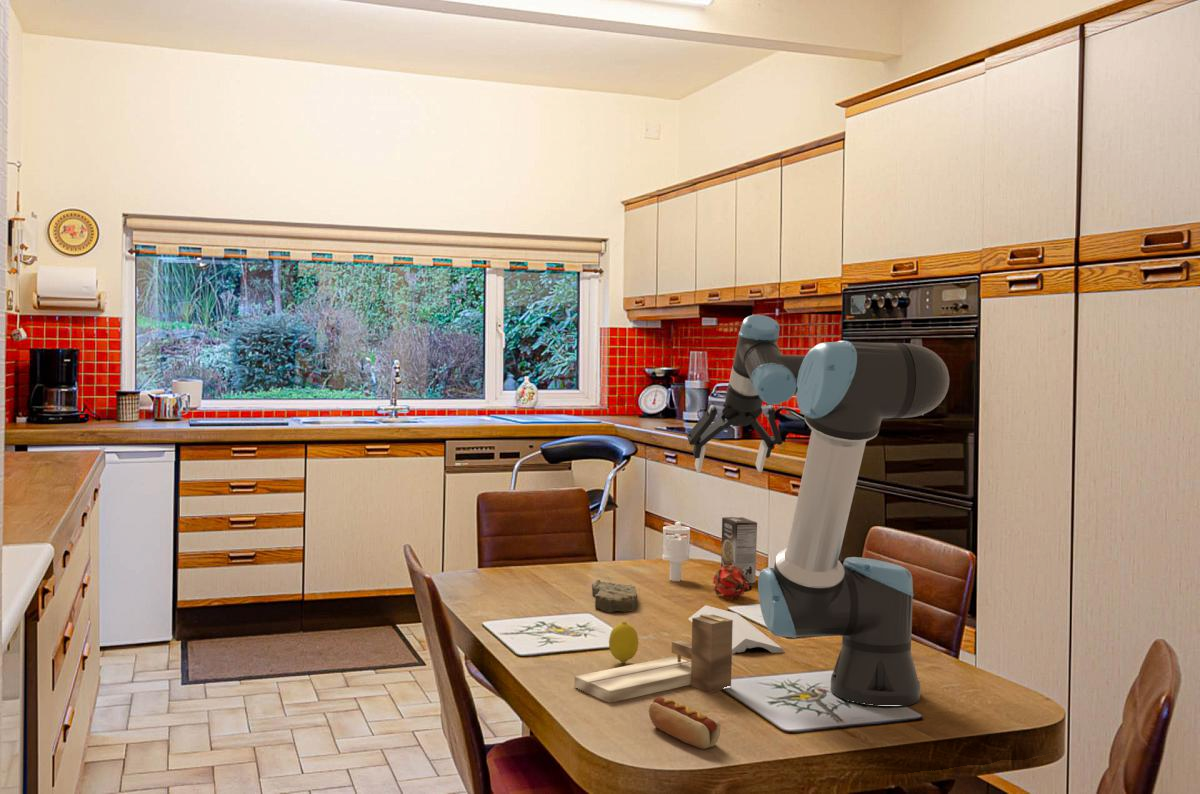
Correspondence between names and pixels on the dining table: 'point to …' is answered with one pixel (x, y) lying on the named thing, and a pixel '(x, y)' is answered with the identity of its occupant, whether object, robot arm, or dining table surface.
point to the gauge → (708, 652)
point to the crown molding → (741, 631)
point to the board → (636, 679)
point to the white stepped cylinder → (676, 548)
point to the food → (684, 723)
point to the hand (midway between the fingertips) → (728, 468)
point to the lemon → (623, 642)
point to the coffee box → (739, 545)
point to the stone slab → (614, 596)
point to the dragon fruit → (731, 582)
